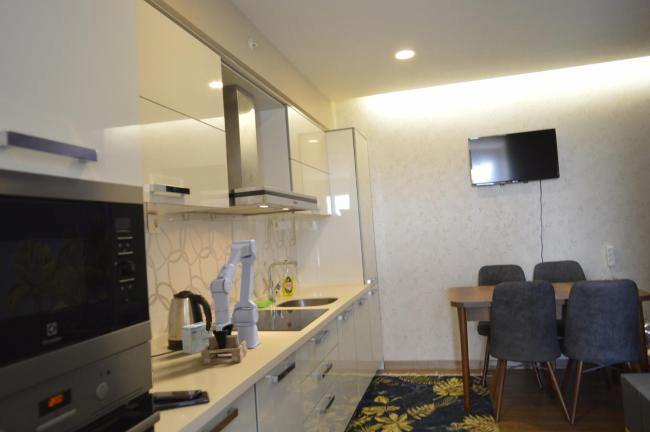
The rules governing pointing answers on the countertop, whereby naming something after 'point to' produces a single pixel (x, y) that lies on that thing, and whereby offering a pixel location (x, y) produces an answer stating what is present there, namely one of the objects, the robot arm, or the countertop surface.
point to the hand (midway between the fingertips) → (224, 346)
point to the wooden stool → (224, 355)
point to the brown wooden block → (230, 344)
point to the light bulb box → (195, 337)
